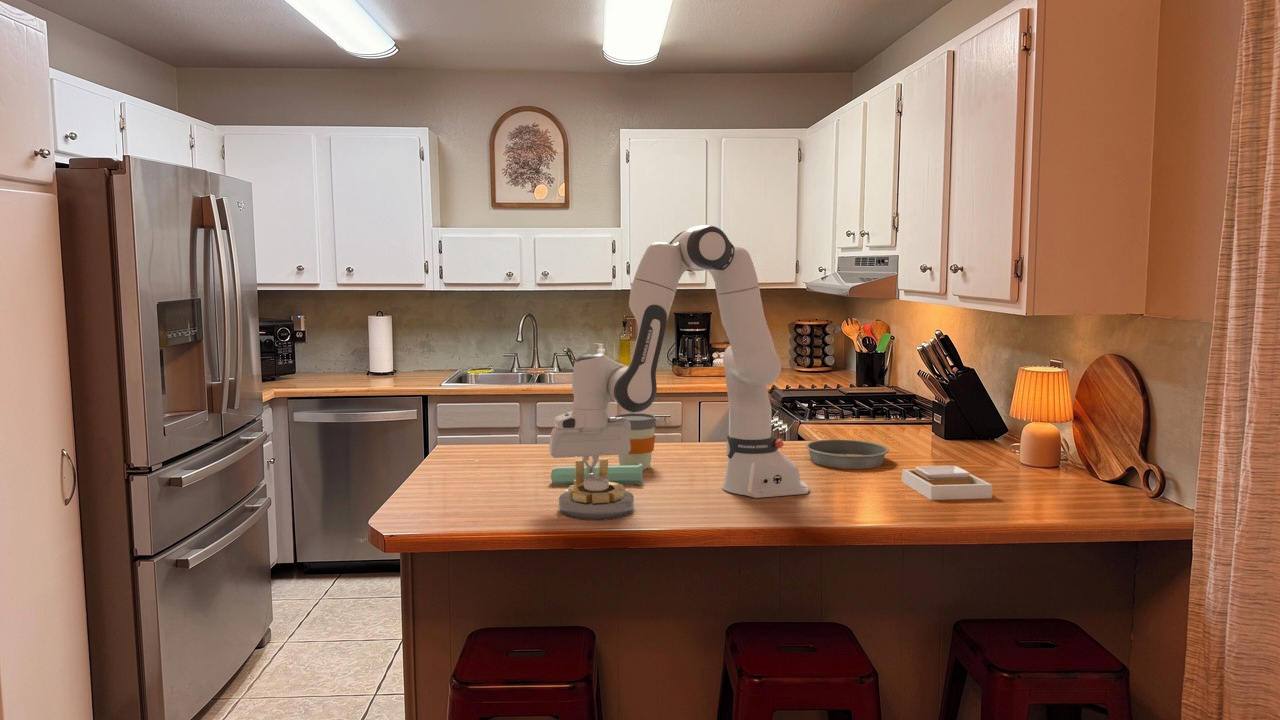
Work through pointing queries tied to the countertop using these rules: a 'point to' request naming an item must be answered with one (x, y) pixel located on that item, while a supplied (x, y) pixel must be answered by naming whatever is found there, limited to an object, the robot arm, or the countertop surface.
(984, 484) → the dish tray
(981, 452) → the countertop surface
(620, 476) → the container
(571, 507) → the grey round piece
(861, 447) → the cake pan
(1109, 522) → the countertop surface
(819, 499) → the countertop surface
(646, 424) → the reusable coffee cup
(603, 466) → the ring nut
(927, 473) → the soap dish
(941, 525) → the countertop surface
